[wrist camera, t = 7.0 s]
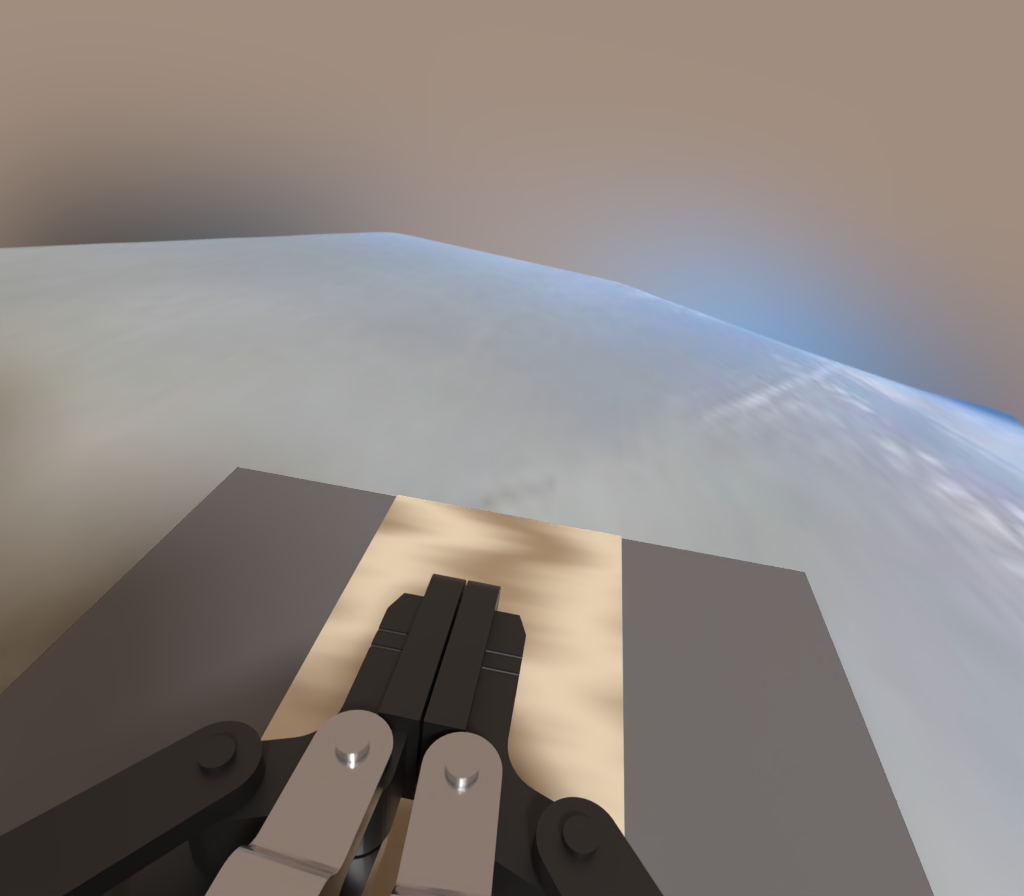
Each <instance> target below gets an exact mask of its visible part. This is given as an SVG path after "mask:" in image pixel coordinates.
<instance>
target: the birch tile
mask: <svg viewBox="0 0 1024 896" xmlns="http://www.w3.org/2000/svg"><path fill="white" fill-rule="evenodd" d="M433 574H439V575H444V576H449V577H455V578H460V579H465V580H466V585H467V582H468V580H471V581H476V582H481V583H486V584H491V585H496V586H501V591H500V598H499V605H498V611H501V612H506V613H511V614H516V615H520V617H521V620H522V624H523V627H524V630H525V633H526V640H525V646H524V651H523V657H522V663H521V669H520V674H519V680H518V686H517V692H516V698H515V703H514V709H513V715H512V721H511V726H510V732H509V738H508V754H509V758H510V761H511V764H512V766H513V768H514V770H515V771H516V773H517V774H518V776H519V777H520V778H521V779H522V780H523V781H524V782H525V783H526V784H527V785H528V786H530V787H531V788H533V789H534V790H536V791H537V792H539V793H541V794H542V795H544V796H546V797H547V798H549V799H551V800H552V801H554V802H555V801H556V800H559V799H561V798H566V797H580V798H585V799H587V800H590V801H592V802H594V803H596V804H598V805H599V806H600V807H602V808H603V809H604V810H605V811H606V812H607V813H608V814H609V815H610V816H611V817H612V819H613V820H614V821H615V823H616V824H617V826H618V827H619V829H620V830H621V832H622V834H623V835H624V837H625V833H624V735H623V637H622V539H621V536H618V535H613V534H607V533H602V532H597V531H591V530H586V529H580V528H575V527H570V526H564V525H559V524H553V523H548V522H543V521H537V520H532V519H526V518H521V517H516V516H510V515H505V514H499V513H494V512H489V511H483V510H478V509H472V508H467V507H462V506H456V505H451V504H445V503H440V502H435V501H429V500H424V499H418V498H413V497H408V496H402V495H397V497H396V498H395V500H394V502H393V504H392V506H391V507H390V509H389V511H388V513H387V514H386V516H385V518H384V520H383V522H382V523H381V525H380V527H379V529H378V531H377V532H376V534H375V536H374V538H373V539H372V541H371V543H370V545H369V547H368V548H367V550H366V552H365V554H364V556H363V557H362V559H361V561H360V563H359V564H358V566H357V568H356V570H355V572H354V573H353V575H352V577H351V579H350V581H349V582H348V584H347V586H346V588H345V590H344V591H343V593H342V595H341V597H340V598H339V600H338V602H337V604H336V606H335V607H334V609H333V611H332V613H331V615H330V616H329V618H328V620H327V622H326V623H325V625H324V627H323V629H322V631H321V632H320V634H319V636H318V638H317V640H316V641H315V643H314V645H313V647H312V648H311V650H310V652H309V654H308V656H307V657H306V659H305V661H304V663H303V665H302V666H301V668H300V670H299V672H298V673H297V675H296V677H295V679H294V681H293V682H292V684H291V686H290V688H289V690H288V691H287V693H286V695H285V697H284V698H283V700H282V702H281V704H280V706H279V707H278V709H277V711H276V713H275V715H274V716H273V718H272V720H271V722H270V723H269V725H268V727H267V729H266V731H265V732H264V734H263V736H262V738H261V741H264V740H274V739H284V738H293V737H300V736H304V735H307V734H310V733H312V732H315V731H317V730H318V729H319V728H320V727H321V726H322V725H323V724H324V723H325V722H326V721H327V720H328V719H330V718H331V717H333V716H335V715H337V714H338V713H339V711H340V710H341V708H342V706H343V704H344V702H345V700H346V698H347V695H348V693H349V691H350V689H351V687H352V685H353V682H354V680H355V678H356V676H357V674H358V671H359V669H360V667H361V665H362V663H363V660H364V658H365V656H366V654H367V652H368V650H369V647H371V643H372V641H373V639H374V636H375V634H376V632H377V631H378V629H379V625H380V623H381V621H382V619H383V617H384V615H385V612H386V610H387V608H388V607H389V606H390V605H391V604H392V603H394V602H395V601H396V600H397V599H398V598H399V597H400V596H401V595H403V594H404V593H409V594H414V595H419V596H424V595H425V592H426V590H427V587H428V584H429V582H430V579H431V577H432V575H433ZM413 802H414V800H410V799H406V798H401V799H400V802H399V805H398V809H397V812H396V815H395V818H394V821H393V825H392V827H391V830H390V835H389V840H388V843H387V846H386V848H385V851H384V853H383V856H382V859H381V861H380V864H379V866H378V869H377V871H376V874H375V877H374V879H373V882H372V884H371V887H370V889H369V892H368V895H367V896H391V893H392V890H393V889H394V887H395V884H396V881H397V877H398V872H399V868H400V863H401V858H402V854H403V849H404V844H405V840H406V835H407V830H408V826H409V821H410V816H411V812H412V807H413Z"/></svg>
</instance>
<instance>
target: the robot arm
mask: <svg viewBox="0 0 1024 896" xmlns="http://www.w3.org/2000/svg"><path fill="white" fill-rule="evenodd" d="M500 591H501V586H496V585H491V584H486V583H481V582H476V581H471V580H468V582H467V585H466V580H465V579H460V578H455V577H449V576H444V575H439V574H433V575H432V577H431V579H430V582H429V584H428V587H427V590H426V592H425V595H424V596H419V595H414V594H409V593H404V594H403V595H401V596H400V597H399V598H398V599H397V600H396V601H395V602H394V603H392V604H391V605H390V606H389V607H388V608H387V610H386V612H385V615H384V617H383V619H382V621H381V623H380V625H379V629H378V631H377V632H376V634H375V636H374V639H373V641H372V643H371V647H369V650H368V652H367V654H366V656H365V658H364V660H363V663H362V665H361V667H360V669H359V671H358V674H357V676H356V678H355V680H354V682H353V685H352V687H351V689H350V691H349V693H348V695H347V698H346V700H345V702H344V704H343V706H342V708H341V710H340V711H339V713H338V714H337V715H335V716H333V717H331V718H330V719H328V720H327V721H326V722H325V723H324V724H323V725H322V726H321V727H320V728H319V729H318V730H317V731H315V732H312V733H310V734H307V735H304V736H300V737H293V738H284V739H274V740H264V741H261V738H260V736H259V734H258V733H257V732H256V730H255V729H253V728H252V727H251V726H249V725H247V724H245V723H242V722H238V721H222V722H216V723H213V724H210V725H207V726H205V727H203V728H201V729H199V730H197V731H195V732H193V733H192V734H190V735H188V736H186V737H184V738H182V739H180V740H179V741H177V742H175V743H173V744H171V745H169V746H167V747H165V748H164V749H162V750H160V751H158V752H156V753H154V754H152V755H151V756H149V757H147V758H145V759H143V760H141V761H139V762H137V763H136V764H134V765H132V766H130V767H128V768H126V769H124V770H123V771H121V772H119V773H117V774H115V775H113V776H111V777H109V778H108V779H106V780H104V781H102V782H100V783H98V784H96V785H95V786H93V787H91V788H89V789H87V790H85V791H83V792H81V793H80V794H78V795H76V796H74V797H72V798H70V799H68V800H67V801H65V802H63V803H61V804H59V805H57V806H55V807H53V808H52V809H50V810H48V811H46V812H44V813H42V814H40V815H39V816H37V817H35V818H33V819H31V820H29V821H27V822H25V823H24V824H22V825H20V826H18V827H16V828H14V829H12V830H11V831H9V832H7V833H5V834H3V835H1V836H0V896H367V895H368V892H369V889H370V887H371V884H372V882H373V879H374V877H375V874H376V871H377V869H378V866H379V864H380V861H381V859H382V856H383V853H384V851H385V848H386V846H387V843H388V840H389V835H390V830H391V827H392V825H393V821H394V818H395V815H396V812H397V809H398V805H399V802H400V799H401V798H406V799H410V800H414V802H413V807H412V812H411V816H410V821H409V826H408V830H407V835H406V840H405V844H404V849H403V854H402V858H401V863H400V868H399V872H398V877H397V881H396V884H395V887H394V889H393V890H392V893H391V896H663V894H662V893H661V891H660V890H659V888H658V887H657V885H656V883H655V882H654V880H653V879H652V877H651V876H650V874H649V873H648V871H647V870H646V868H645V867H644V865H643V864H642V862H641V861H640V859H639V858H638V856H637V855H636V853H635V852H634V850H633V849H632V847H631V846H630V844H629V843H628V841H627V840H626V838H625V837H624V835H623V834H622V832H621V830H620V829H619V827H618V826H617V824H616V823H615V821H614V820H613V819H612V817H611V816H610V815H609V814H608V813H607V812H606V811H605V810H604V809H603V808H602V807H600V806H599V805H598V804H596V803H594V802H592V801H590V800H587V799H585V798H580V797H566V798H561V799H559V800H556V801H555V802H554V801H552V800H551V799H549V798H547V797H546V796H544V795H542V794H541V793H539V792H537V791H536V790H534V789H533V788H531V787H530V786H528V785H527V784H526V783H525V782H524V781H523V780H522V779H521V778H520V777H519V776H518V774H517V773H516V771H515V770H514V768H513V766H512V764H511V761H510V758H509V754H508V738H509V732H510V726H511V721H512V715H513V709H514V703H515V698H516V692H517V686H518V680H519V674H520V669H521V663H522V657H523V651H524V646H525V640H526V633H525V630H524V627H523V624H522V620H521V617H520V615H516V614H511V613H506V612H501V611H498V605H499V598H500Z"/></svg>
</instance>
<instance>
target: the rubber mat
mask: <svg viewBox="0 0 1024 896" xmlns="http://www.w3.org/2000/svg"><path fill="white" fill-rule="evenodd" d="M395 498H396V497H395V496H390V495H385V494H379V493H374V492H369V491H363V490H358V489H352V488H347V487H342V486H336V485H331V484H325V483H320V482H315V481H309V480H304V479H298V478H293V477H288V476H282V475H277V474H271V473H266V472H261V471H255V470H250V469H244V468H239V467H237V468H236V469H235V470H234V471H233V472H232V473H231V474H230V475H229V476H228V477H227V478H226V479H225V480H224V481H223V482H222V483H221V484H220V485H218V486H217V487H216V488H215V489H214V490H213V491H212V492H211V493H210V494H209V495H208V496H207V497H206V498H205V499H204V500H203V501H202V502H201V503H200V504H199V505H198V506H197V507H196V508H195V509H193V510H192V511H191V512H190V513H189V514H188V515H187V516H186V517H185V518H184V519H183V520H182V521H181V522H180V523H179V524H178V525H177V526H176V527H175V528H174V529H173V530H172V531H171V532H170V533H169V534H167V535H166V536H165V537H164V538H163V539H162V540H161V541H160V542H159V543H158V544H157V545H156V546H155V547H154V548H153V549H152V550H151V551H150V552H149V553H148V554H147V555H146V556H145V557H144V558H142V559H141V560H140V561H139V562H138V563H137V564H136V565H135V566H134V567H133V568H132V569H131V570H130V571H129V572H128V573H127V574H126V575H125V576H124V577H123V578H122V579H121V580H120V581H119V582H117V583H116V584H115V585H114V586H113V587H112V588H111V589H110V590H109V591H108V592H107V593H106V594H105V595H104V596H103V597H102V598H101V599H100V600H99V601H98V602H97V603H96V604H95V605H94V606H92V607H91V608H90V609H89V610H88V611H87V612H86V613H85V614H84V615H83V616H82V617H81V618H80V619H79V620H78V621H77V622H76V623H75V624H74V625H73V626H72V627H71V628H70V629H69V630H68V631H66V632H65V633H64V634H63V635H62V636H61V637H60V638H59V639H58V640H57V641H56V642H55V643H54V644H53V645H52V646H51V647H50V648H49V649H48V650H47V651H46V652H45V653H44V654H43V655H41V656H40V657H39V658H38V659H37V660H36V661H35V662H34V663H33V664H32V665H31V666H30V667H29V668H28V669H27V670H26V671H25V672H24V673H23V674H22V675H21V676H20V677H19V678H18V679H16V680H15V681H14V682H13V683H12V684H11V685H10V686H9V687H8V688H7V689H6V690H5V691H4V692H3V693H2V694H1V695H0V836H1V835H3V834H5V833H7V832H9V831H11V830H12V829H14V828H16V827H18V826H20V825H22V824H24V823H25V822H27V821H29V820H31V819H33V818H35V817H37V816H39V815H40V814H42V813H44V812H46V811H48V810H50V809H52V808H53V807H55V806H57V805H59V804H61V803H63V802H65V801H67V800H68V799H70V798H72V797H74V796H76V795H78V794H80V793H81V792H83V791H85V790H87V789H89V788H91V787H93V786H95V785H96V784H98V783H100V782H102V781H104V780H106V779H108V778H109V777H111V776H113V775H115V774H117V773H119V772H121V771H123V770H124V769H126V768H128V767H130V766H132V765H134V764H136V763H137V762H139V761H141V760H143V759H145V758H147V757H149V756H151V755H152V754H154V753H156V752H158V751H160V750H162V749H164V748H165V747H167V746H169V745H171V744H173V743H175V742H177V741H179V740H180V739H182V738H184V737H186V736H188V735H190V734H192V733H193V732H195V731H197V730H199V729H201V728H203V727H205V726H207V725H210V724H213V723H216V722H222V721H238V722H242V723H245V724H247V725H249V726H251V727H252V728H253V729H255V730H256V732H257V733H258V734H259V736H260V738H262V736H263V734H264V732H265V731H266V729H267V727H268V725H269V723H270V722H271V720H272V718H273V716H274V715H275V713H276V711H277V709H278V707H279V706H280V704H281V702H282V700H283V698H284V697H285V695H286V693H287V691H288V690H289V688H290V686H291V684H292V682H293V681H294V679H295V677H296V675H297V673H298V672H299V670H300V668H301V666H302V665H303V663H304V661H305V659H306V657H307V656H308V654H309V652H310V650H311V648H312V647H313V645H314V643H315V641H316V640H317V638H318V636H319V634H320V632H321V631H322V629H323V627H324V625H325V623H326V622H327V620H328V618H329V616H330V615H331V613H332V611H333V609H334V607H335V606H336V604H337V602H338V600H339V598H340V597H341V595H342V593H343V591H344V590H345V588H346V586H347V584H348V582H349V581H350V579H351V577H352V575H353V573H354V572H355V570H356V568H357V566H358V564H359V563H360V561H361V559H362V557H363V556H364V554H365V552H366V550H367V548H368V547H369V545H370V543H371V541H372V539H373V538H374V536H375V534H376V532H377V531H378V529H379V527H380V525H381V523H382V522H383V520H384V518H385V516H386V514H387V513H388V511H389V509H390V507H391V506H392V504H393V502H394V500H395ZM621 539H622V538H621ZM622 637H623V735H624V833H625V838H626V840H627V841H628V843H629V844H630V846H631V847H632V849H633V850H634V852H635V853H636V855H637V856H638V858H639V859H640V861H641V862H642V864H643V865H644V867H645V868H646V870H647V871H648V873H649V874H650V876H651V877H652V879H653V880H654V882H655V883H656V885H657V887H658V888H659V890H660V891H661V893H662V894H663V896H934V895H933V892H932V890H931V887H930V885H929V882H928V880H927V877H926V875H925V872H924V870H923V867H922V865H921V862H920V859H919V857H918V854H917V852H916V849H915V847H914V844H913V842H912V839H911V837H910V834H909V832H908V829H907V827H906V824H905V822H904V819H903V817H902V814H901V812H900V809H899V807H898V804H897V802H896V799H895V797H894V794H893V792H892V789H891V787H890V784H889V782H888V779H887V777H886V774H885V772H884V769H883V767H882V764H881V762H880V759H879V757H878V754H877V752H876V749H875V747H874V744H873V742H872V739H871V737H870V734H869V732H868V729H867V727H866V724H865V722H864V719H863V717H862V714H861V712H860V709H859V707H858V704H857V702H856V699H855V697H854V694H853V692H852V689H851V687H850V684H849V682H848V679H847V677H846V674H845V672H844V669H843V667H842V664H841V662H840V659H839V657H838V654H837V652H836V649H835V647H834V644H833V642H832V639H831V637H830V634H829V632H828V629H827V627H826V624H825V622H824V619H823V617H822V614H821V612H820V609H819V607H818V604H817V602H816V599H815V597H814V594H813V592H812V589H811V587H810V584H809V582H808V579H807V577H806V574H805V572H800V571H795V570H789V569H784V568H779V567H773V566H768V565H762V564H757V563H752V562H746V561H741V560H736V559H730V558H725V557H719V556H714V555H709V554H703V553H698V552H692V551H687V550H682V549H676V548H671V547H665V546H660V545H655V544H649V543H644V542H638V541H633V540H628V539H622Z"/></svg>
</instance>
